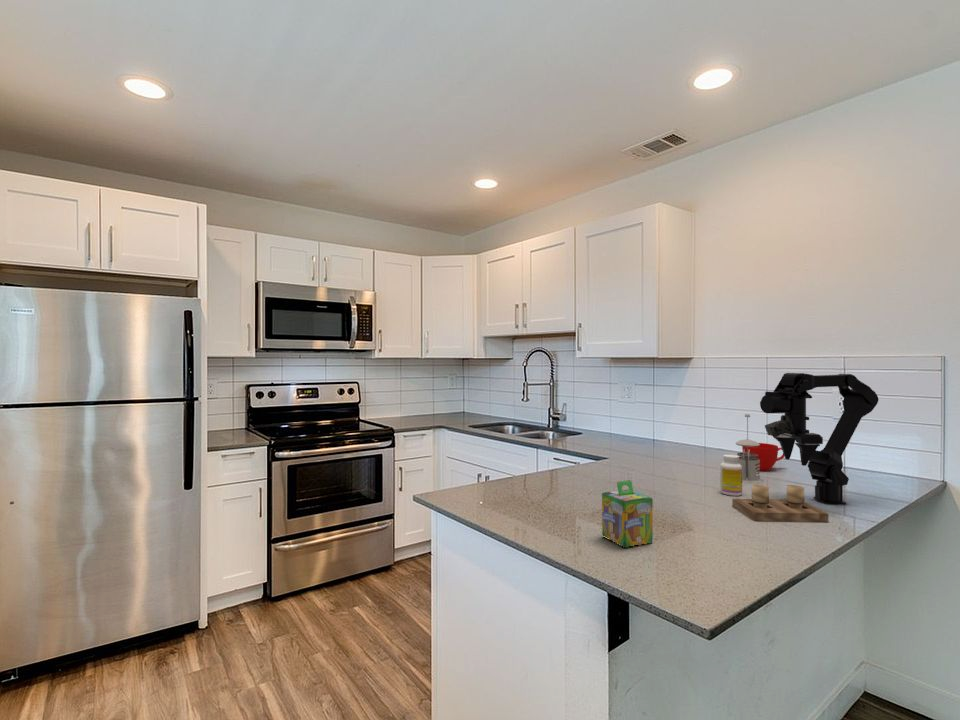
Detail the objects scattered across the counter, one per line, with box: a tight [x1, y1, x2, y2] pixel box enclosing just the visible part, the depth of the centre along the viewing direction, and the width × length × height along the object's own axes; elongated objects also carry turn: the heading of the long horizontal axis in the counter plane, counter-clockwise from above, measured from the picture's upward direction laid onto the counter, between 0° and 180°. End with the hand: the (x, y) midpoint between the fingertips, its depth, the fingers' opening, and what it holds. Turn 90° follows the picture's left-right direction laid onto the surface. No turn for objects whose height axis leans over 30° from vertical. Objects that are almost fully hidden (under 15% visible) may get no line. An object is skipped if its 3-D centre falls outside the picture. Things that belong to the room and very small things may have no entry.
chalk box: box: [601, 479, 654, 548], centre depth 126 cm, size 9×9×15 cm
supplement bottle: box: [719, 454, 743, 497], centre depth 169 cm, size 7×7×13 cm
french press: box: [735, 413, 763, 484], centre depth 187 cm, size 10×12×25 cm
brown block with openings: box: [731, 484, 830, 523], centre depth 146 cm, size 20×14×8 cm
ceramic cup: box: [741, 442, 785, 472], centre depth 206 cm, size 13×17×10 cm
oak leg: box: [785, 484, 805, 509], centre depth 146 cm, size 4×4×8 cm
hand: (795, 462), depth 157 cm, fingers open, 9 cm apart
